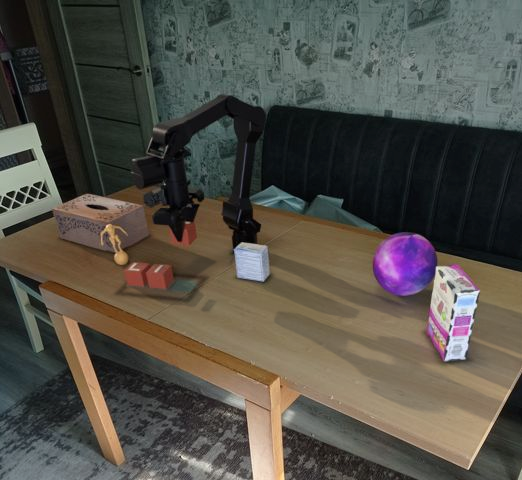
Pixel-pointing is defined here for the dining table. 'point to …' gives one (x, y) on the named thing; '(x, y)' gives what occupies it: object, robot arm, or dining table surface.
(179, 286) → the word mat
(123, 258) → the figurine
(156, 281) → the red box-shaped block
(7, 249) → the dining table surface
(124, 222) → the tissue box cover
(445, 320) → the candy bar box
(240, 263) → the medicine box
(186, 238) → the letter T
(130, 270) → the letter L
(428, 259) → the decorative orb
